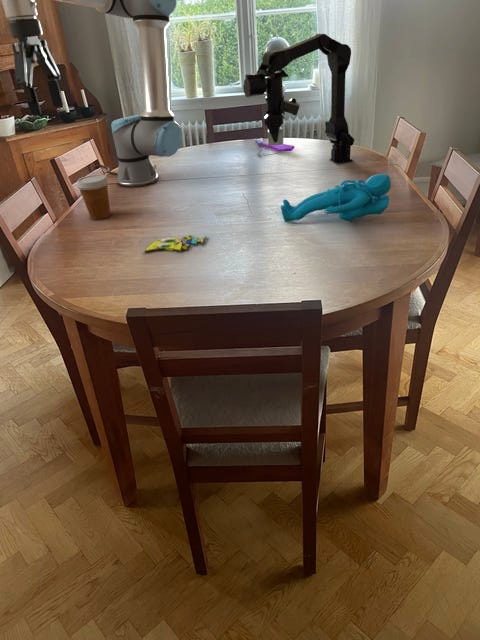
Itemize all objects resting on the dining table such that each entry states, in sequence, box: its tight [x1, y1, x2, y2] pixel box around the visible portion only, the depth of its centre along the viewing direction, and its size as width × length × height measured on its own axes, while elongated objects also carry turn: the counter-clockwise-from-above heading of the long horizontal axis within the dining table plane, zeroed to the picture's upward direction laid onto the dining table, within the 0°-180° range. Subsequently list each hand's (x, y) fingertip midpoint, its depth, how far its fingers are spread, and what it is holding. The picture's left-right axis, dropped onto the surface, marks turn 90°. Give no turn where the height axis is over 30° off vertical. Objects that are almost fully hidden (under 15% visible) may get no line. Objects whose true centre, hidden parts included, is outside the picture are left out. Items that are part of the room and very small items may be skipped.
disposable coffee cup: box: [76, 174, 111, 220], centre depth 151 cm, size 10×10×12 cm
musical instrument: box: [254, 139, 295, 156], centre depth 208 cm, size 24×2×20 cm
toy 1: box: [144, 234, 207, 254], centre depth 130 cm, size 10×1×15 cm
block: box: [267, 127, 284, 146], centre depth 171 cm, size 5×5×5 cm
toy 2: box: [280, 173, 392, 223], centre depth 134 cm, size 17×11×30 cm
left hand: (48, 110), depth 131 cm, fingers open, 13 cm apart
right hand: (276, 140), depth 172 cm, fingers closed on block, 5 cm apart
